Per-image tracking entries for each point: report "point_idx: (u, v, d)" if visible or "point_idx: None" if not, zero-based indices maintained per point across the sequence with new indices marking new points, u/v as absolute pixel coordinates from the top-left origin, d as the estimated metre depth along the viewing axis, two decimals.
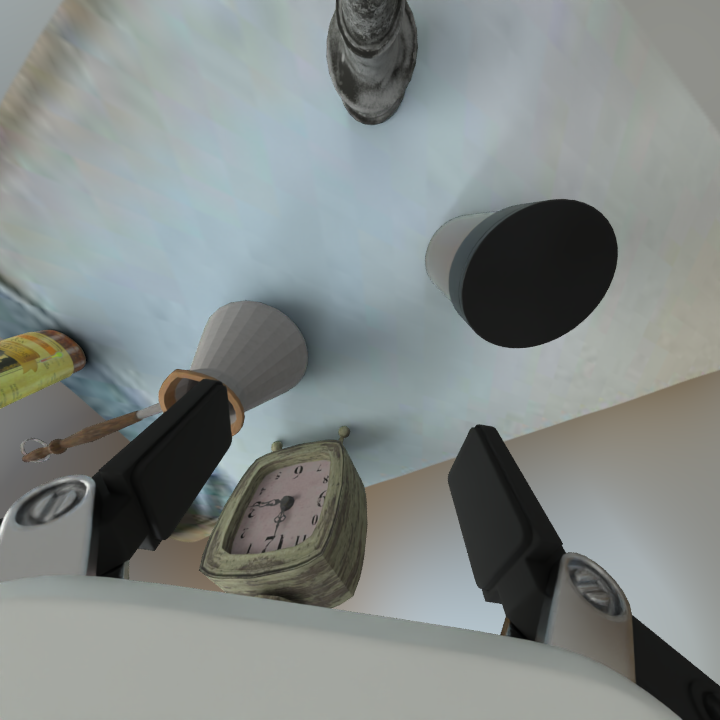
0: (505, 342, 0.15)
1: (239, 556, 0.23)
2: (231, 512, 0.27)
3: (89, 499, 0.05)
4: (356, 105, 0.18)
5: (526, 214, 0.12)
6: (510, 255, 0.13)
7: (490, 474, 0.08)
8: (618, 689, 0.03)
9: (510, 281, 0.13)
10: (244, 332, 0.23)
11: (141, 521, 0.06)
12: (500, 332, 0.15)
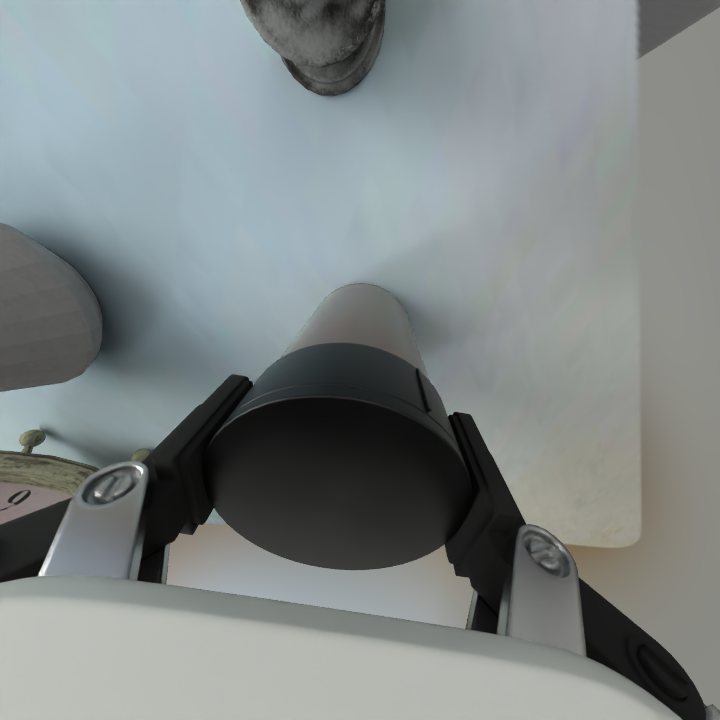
0: (271, 548, 0.09)
1: None
2: None
3: (144, 482, 0.06)
4: (255, 19, 0.09)
5: (344, 408, 0.06)
6: (301, 452, 0.06)
7: None
8: (618, 690, 0.03)
9: (294, 485, 0.07)
10: None
11: (184, 506, 0.07)
12: (265, 535, 0.08)
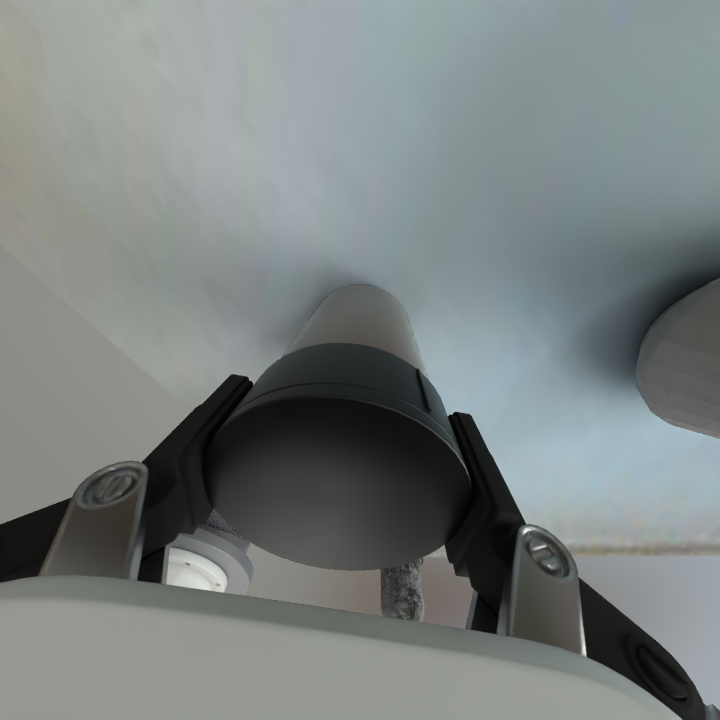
0: (270, 548, 0.09)
1: None
2: None
3: (144, 482, 0.06)
4: None
5: (345, 408, 0.06)
6: (301, 452, 0.06)
7: (462, 456, 0.08)
8: (619, 690, 0.03)
9: (294, 484, 0.07)
10: None
11: (184, 506, 0.07)
12: (265, 535, 0.08)
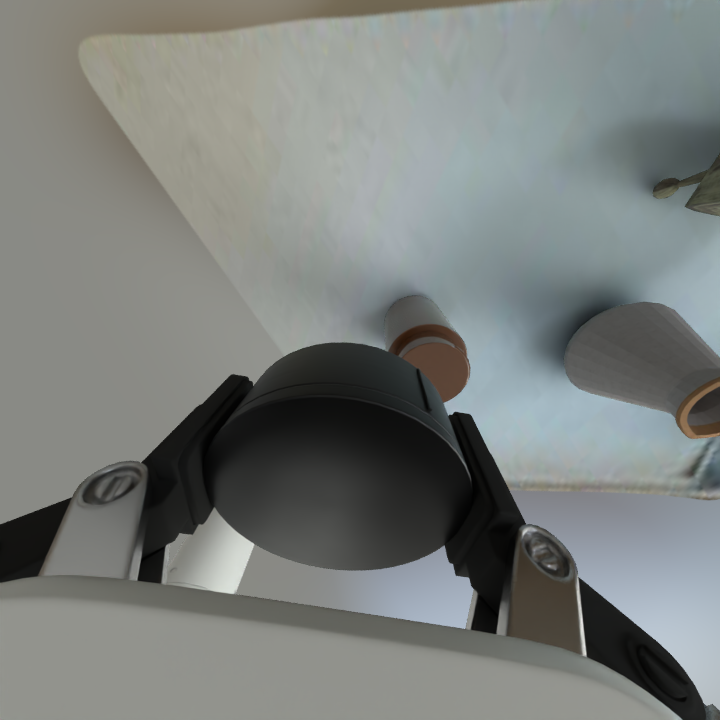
0: (271, 548, 0.09)
1: None
2: None
3: (144, 482, 0.06)
4: None
5: (345, 408, 0.06)
6: (302, 452, 0.06)
7: None
8: (618, 689, 0.03)
9: (295, 484, 0.07)
10: (609, 390, 0.27)
11: (184, 506, 0.07)
12: (266, 535, 0.08)
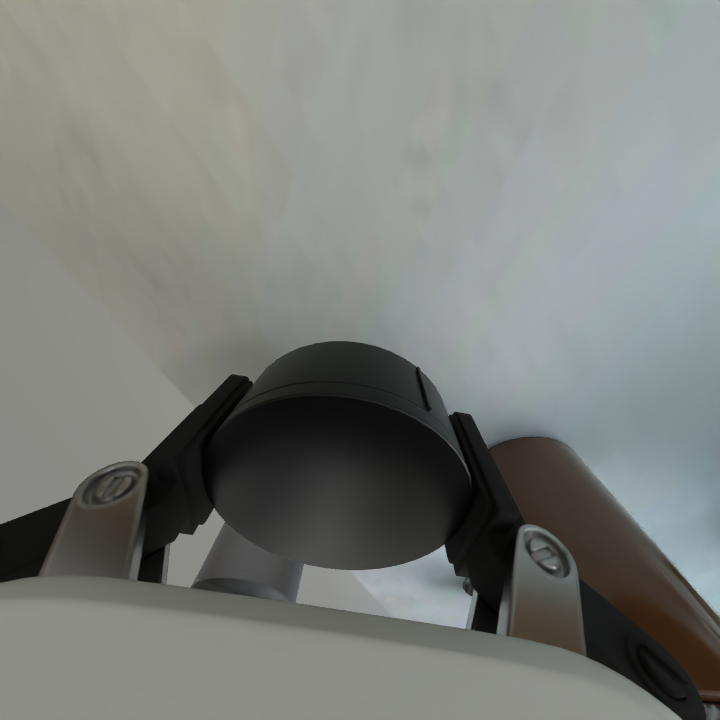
0: (271, 548, 0.09)
1: None
2: None
3: (144, 482, 0.06)
4: None
5: (344, 406, 0.06)
6: (301, 451, 0.06)
7: None
8: (618, 689, 0.03)
9: (294, 484, 0.07)
10: None
11: (184, 505, 0.07)
12: (265, 535, 0.08)
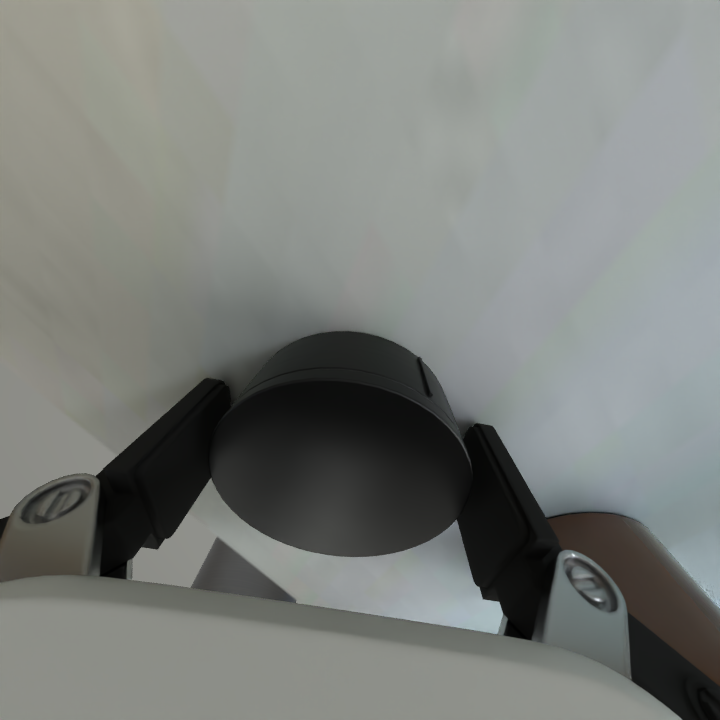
0: (274, 535, 0.09)
1: None
2: None
3: (94, 498, 0.05)
4: None
5: (348, 391, 0.06)
6: (305, 436, 0.07)
7: (488, 472, 0.08)
8: (618, 689, 0.03)
9: (298, 469, 0.07)
10: None
11: (145, 520, 0.06)
12: (269, 521, 0.08)
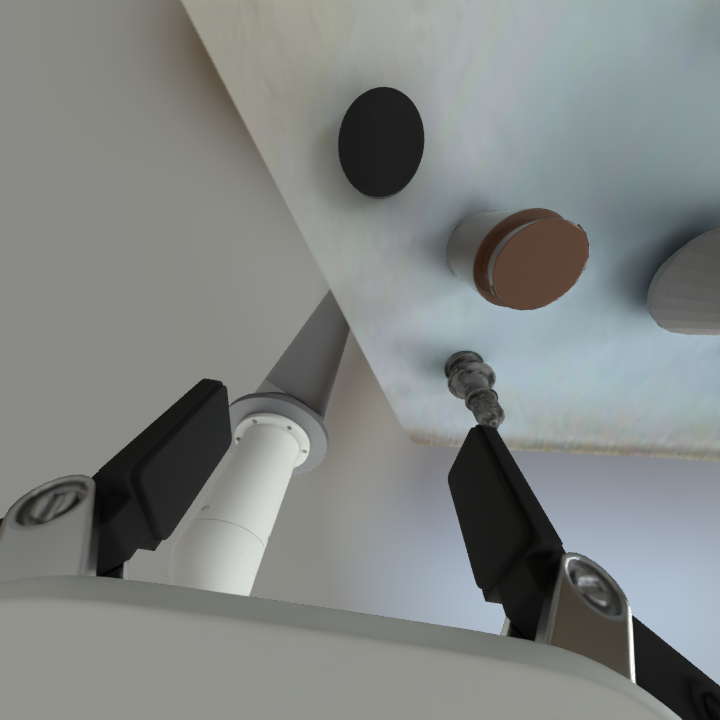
0: (354, 182, 0.24)
1: None
2: None
3: (89, 499, 0.05)
4: (492, 371, 0.32)
5: (387, 92, 0.21)
6: (373, 116, 0.22)
7: (490, 474, 0.08)
8: (618, 690, 0.03)
9: (368, 135, 0.22)
10: (711, 319, 0.24)
11: (141, 521, 0.06)
12: (354, 172, 0.24)
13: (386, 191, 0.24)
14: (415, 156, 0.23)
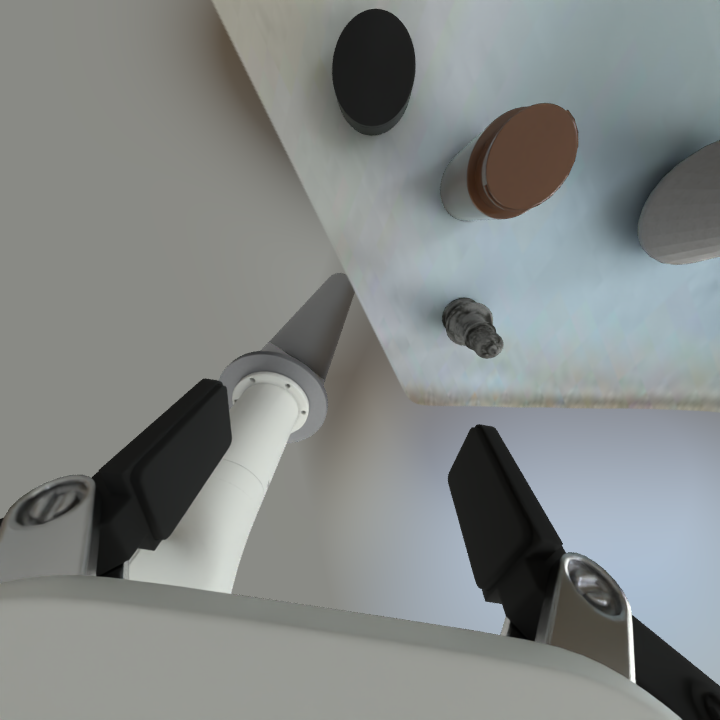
0: (349, 110, 0.25)
1: None
2: None
3: (89, 499, 0.05)
4: (489, 312, 0.32)
5: (378, 13, 0.22)
6: (365, 39, 0.22)
7: (490, 474, 0.08)
8: (618, 689, 0.03)
9: (361, 60, 0.23)
10: (700, 236, 0.24)
11: (141, 521, 0.06)
12: (348, 100, 0.24)
13: (380, 119, 0.25)
14: (407, 81, 0.23)
